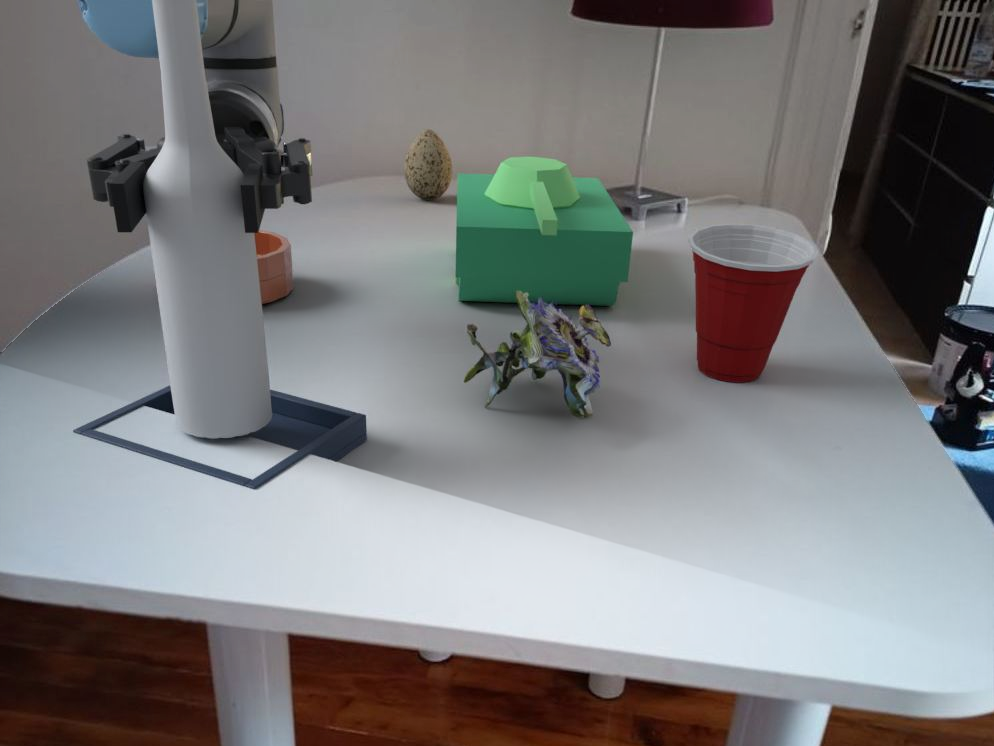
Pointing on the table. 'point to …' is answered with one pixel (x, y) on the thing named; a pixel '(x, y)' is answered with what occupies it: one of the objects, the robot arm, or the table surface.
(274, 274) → the bowl
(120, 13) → the robot arm
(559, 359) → the passion flower
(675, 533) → the table surface
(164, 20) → the bottle
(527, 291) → the toy tank
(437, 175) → the decorative egg
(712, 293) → the plastic cup
